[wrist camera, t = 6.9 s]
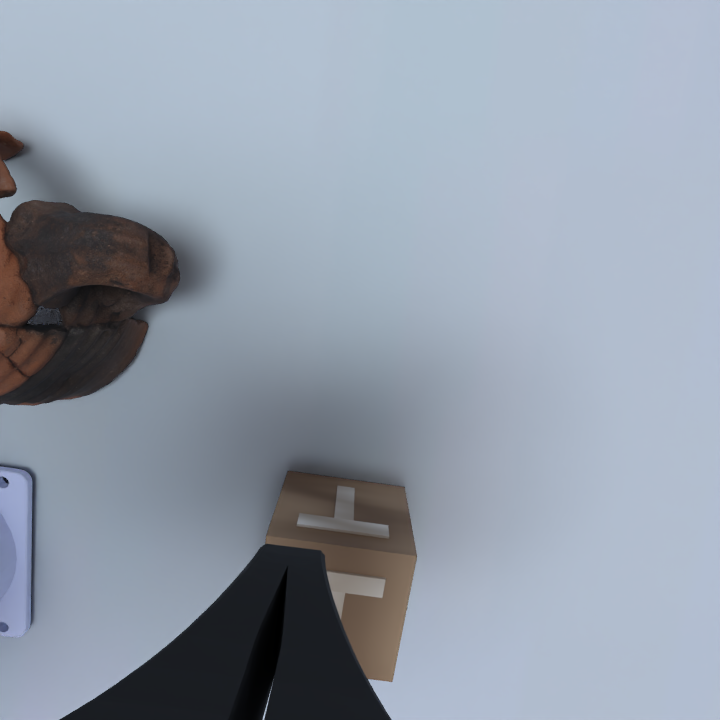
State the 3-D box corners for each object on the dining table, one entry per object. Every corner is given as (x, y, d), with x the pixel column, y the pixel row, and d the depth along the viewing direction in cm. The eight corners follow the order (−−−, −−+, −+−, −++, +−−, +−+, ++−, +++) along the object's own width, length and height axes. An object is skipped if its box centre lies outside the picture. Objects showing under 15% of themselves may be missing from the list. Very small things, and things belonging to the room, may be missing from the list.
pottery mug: (-7, 426, 21) (-305, 399, 14) (19, 225, 24) (-225, 105, 16) (242, 400, 18) (28, 344, 10) (245, 166, 20) (71, -23, 12)
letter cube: (274, 572, 22) (249, 666, 17) (288, 467, 21) (265, 534, 16) (385, 587, 22) (392, 684, 17) (404, 484, 21) (418, 555, 16)
